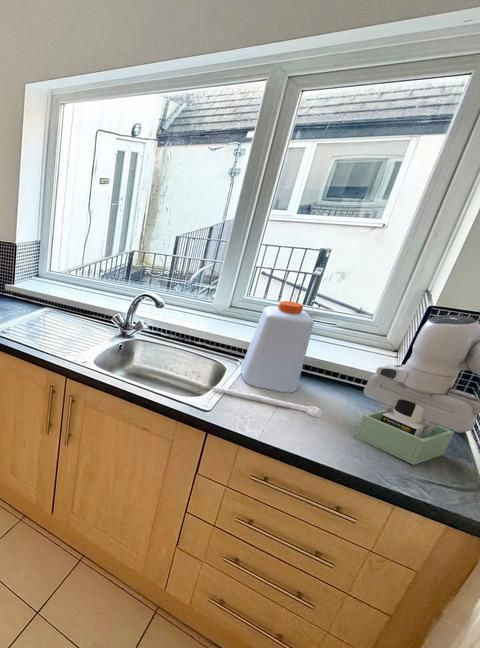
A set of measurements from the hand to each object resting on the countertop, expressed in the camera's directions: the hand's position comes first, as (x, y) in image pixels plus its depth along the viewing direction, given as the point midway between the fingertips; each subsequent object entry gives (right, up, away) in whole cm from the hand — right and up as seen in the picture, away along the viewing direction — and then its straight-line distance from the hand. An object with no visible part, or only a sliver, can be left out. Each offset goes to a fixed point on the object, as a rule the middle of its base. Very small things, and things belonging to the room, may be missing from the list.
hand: (405, 428), depth 107 cm
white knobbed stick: (-21, +3, +21) cm, 30 cm away
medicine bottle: (0, -4, +2) cm, 4 cm away
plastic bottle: (-10, +8, +36) cm, 38 cm away
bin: (0, -5, +2) cm, 5 cm away
